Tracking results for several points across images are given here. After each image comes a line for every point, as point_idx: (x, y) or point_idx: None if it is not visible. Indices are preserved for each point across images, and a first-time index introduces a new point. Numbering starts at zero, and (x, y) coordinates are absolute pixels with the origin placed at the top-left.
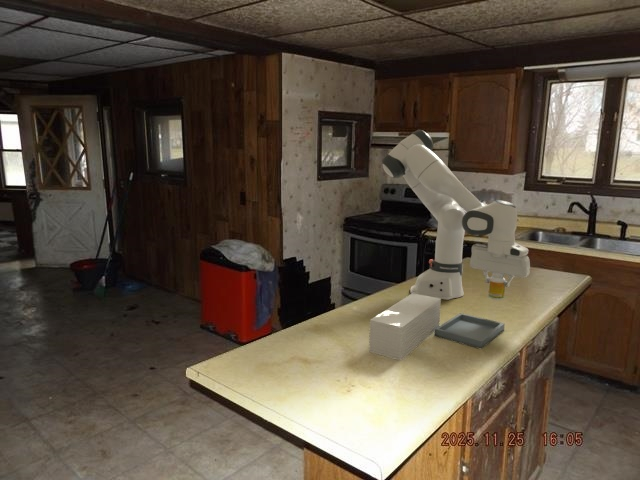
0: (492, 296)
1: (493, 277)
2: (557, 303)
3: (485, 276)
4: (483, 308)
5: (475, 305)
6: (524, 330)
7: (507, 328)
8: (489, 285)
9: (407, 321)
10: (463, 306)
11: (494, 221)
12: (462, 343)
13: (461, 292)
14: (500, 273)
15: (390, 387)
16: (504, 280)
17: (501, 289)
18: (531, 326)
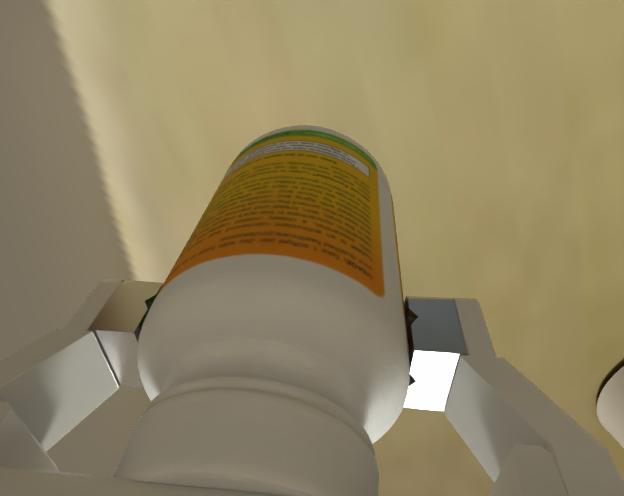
0: (315, 137)
1: (319, 367)
2: None
3: (505, 385)
4: (449, 282)
5: (505, 303)
6: (81, 51)
7: (180, 6)
8: (382, 245)
9: None
10: (581, 252)
11: None
12: None
13: (621, 404)
14: (126, 478)
15: None
16: (138, 364)
17: (197, 226)
18: (100, 157)
